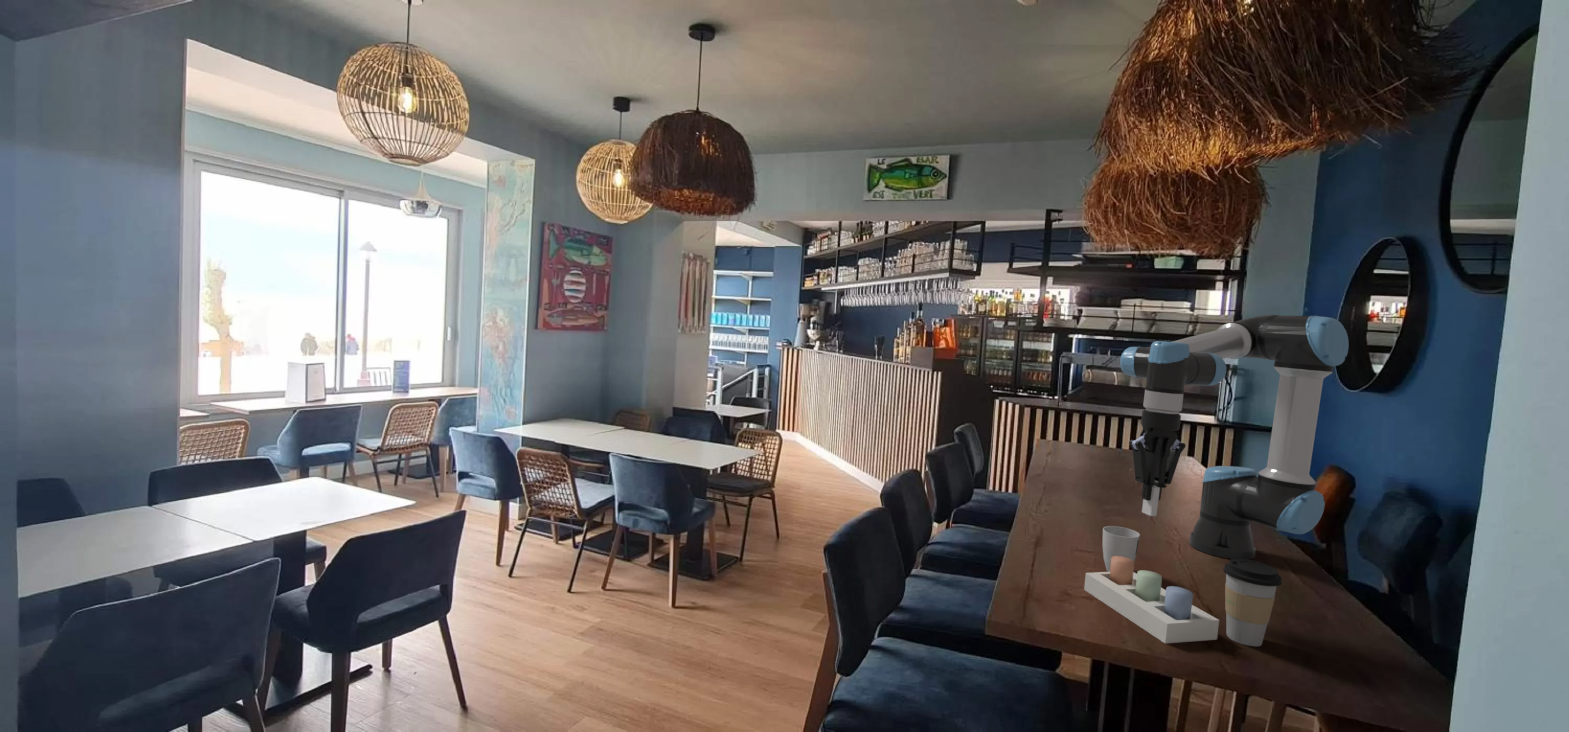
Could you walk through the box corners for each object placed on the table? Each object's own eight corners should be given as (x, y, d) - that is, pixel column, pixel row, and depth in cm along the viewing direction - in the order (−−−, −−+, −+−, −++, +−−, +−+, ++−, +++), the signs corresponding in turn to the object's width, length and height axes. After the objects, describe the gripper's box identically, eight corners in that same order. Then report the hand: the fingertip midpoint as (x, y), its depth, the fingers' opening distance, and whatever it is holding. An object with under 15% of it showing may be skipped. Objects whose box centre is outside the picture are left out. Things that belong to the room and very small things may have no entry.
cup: (1140, 579, 158) (1144, 539, 158) (1104, 575, 160) (1107, 535, 159) (1130, 566, 166) (1133, 527, 165) (1095, 562, 168) (1099, 524, 167)
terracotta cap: (1122, 576, 151) (1124, 555, 150) (1137, 585, 146) (1139, 563, 146) (1104, 577, 150) (1106, 556, 149) (1119, 586, 145) (1121, 564, 145)
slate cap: (1177, 609, 135) (1180, 585, 135) (1195, 619, 131) (1198, 595, 130) (1158, 610, 134) (1160, 586, 134) (1176, 621, 130) (1178, 596, 129)
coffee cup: (1205, 627, 135) (1213, 556, 134) (1248, 627, 136) (1256, 557, 135) (1240, 651, 126) (1249, 575, 124) (1286, 651, 127) (1296, 576, 125)
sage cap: (1148, 592, 143) (1150, 569, 143) (1164, 601, 139) (1167, 578, 138) (1130, 593, 142) (1132, 570, 142) (1146, 602, 138) (1148, 579, 137)
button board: (1129, 587, 154) (1131, 570, 153) (1217, 639, 130) (1219, 619, 130) (1084, 589, 151) (1085, 572, 151) (1165, 643, 128) (1167, 623, 127)
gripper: (1173, 409, 152) (1160, 509, 154) (1124, 406, 149) (1112, 508, 151) (1200, 414, 145) (1186, 519, 147) (1149, 412, 142) (1136, 519, 144)
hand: (1149, 513), depth 149 cm, fingers closed
